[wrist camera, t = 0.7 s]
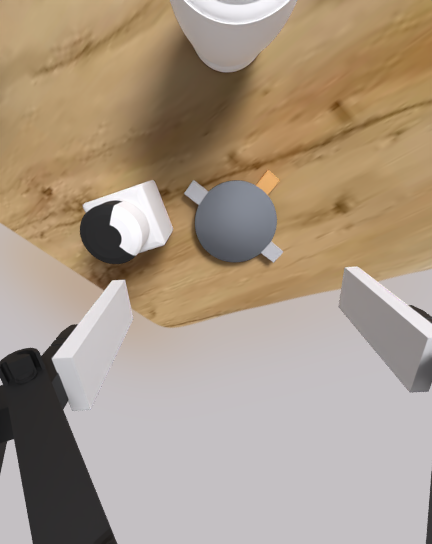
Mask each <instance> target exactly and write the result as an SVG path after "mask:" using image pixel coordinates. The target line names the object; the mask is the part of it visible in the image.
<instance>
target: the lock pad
mask: <svg viewBox="0 0 432 544" xmlns="http://www.w3.org/2000/svg"><path fill="white" fill-rule="evenodd" d="M279 181H280V180H279V179H278V178H277V177H276V176H275V175H273V174H272V173H271V172H270V171H269V170H267V171H266V172H265V174H264V175H263V176H262V177H261V179H260V180H259V181H258V182H257V184H256V185H254V184H252V183H249V182H245V181H238V180H235V181H227V182H224V183H221V184H219V185H217V186H215V187H214V188H212V189H211V190H210V191H209V192H208V191H207V190H206V189H205V188H203V187H202V186H201V185H200V184H198V183H197V182H196V181H195V180H193V181H192V183H191V184H190V186H189V187H188V189H187V190H186V191H185V193H184V194H185V195H186V196H188V197H189V198H190V199H192V200H193V201H194V202H196V203H197V204H198V205H199V206H198V209H197V212H196V217H195V230H196V234H197V237H198V239H199V241H200V243H201V245H202V246H203V247H204V249H205V250H206V251H207V252H208V253H210V254H211V255H212V256H214V257H216V258H218V259H220V260H223V261H227V262H242V261H246V260H249V259H252V258H254V257H256V256H257V255H259V254H260V253H262V254H263V255H264V256H266V257H267V258H268V259H270V260H271V261H272V262H273V263H274V262H275V260H276V259H277V258H278V257H279V256H280V255H281V254H282V253H283V251H282V250H281V249H280V248H279V247H278V246H276V245H275V244H274V243H273V242H271V240H272V238H273V236H274V234H275V230H276V225H277V217H276V211H275V207H274V205H273V203H272V201H271V199H270V198H269V196H268V194H269V193H270V192H271V190H272V189H273V188H274V187H275V186H276V184H277V183H278V182H279Z"/></svg>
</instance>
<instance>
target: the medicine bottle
mask: <svg viewBox="0 0 432 544" xmlns="http://www.w3.org/2000/svg"><path fill="white" fill-rule="evenodd" d="M83 208H84V210H85V212H86V214H85V215H84V217H83V218H82V221H81V225H80V235H81V239H82V242H83V244H84V246H85V247H86V249H87V250H88V251H89V252H90V253H91V254H92V255H93V256H94V257H96V258H97V259H99V260H101V261H103V262H106V263H110V264H122V263H125V262H128V261H130V260H131V259H133V258H134V257H135V256H136V255H137V254H138V253H141V252H144V251H147V250H150V249H154V248H157V247H160V246H163V245H165V243H166V242H167V240H168V238H169V236H170V235H171V233H172V231H173V227H172V224H171V222H170V219H169V216H168V214H167V211H166V209H165V206H164V204H163V201H162V198H161V196H160V193H159V191H158V188H157V186H156V183H155V181H154V180H150V181H147V182H145V183H142V184H139V185H136V186H133V187H130V188H127V189H124V190H121V191H119V192H116V193H113V194H110V195H107V196H104V197H101V198H98V199H95V200H93V201H90V202H87V203H84V204H83Z"/></svg>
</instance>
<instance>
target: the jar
mask: <svg viewBox="0 0 432 544" xmlns="http://www.w3.org/2000/svg"><path fill="white" fill-rule="evenodd" d="M170 2H171V5H172V8H173V11H174V14H175V16H176V19H177V21H178V23H179V25H180V27H181V29H182V30H183V32H184V34H185V35H186V37H187V38H188V40H189V41H190V42H191V44H192V45H193V47H194V49H195V51H196V53H197V54H198V56H199V57H200V59H201V60H202V61H203V62H204V63H205V64H206V65H208V66H209V67H210V68H212V69H214V70H217V71H220V72H235V71H238V70H241V69H243V68H244V67H246V66H247V65H249V64H250V63H251V62H252V61H253V60H254V59H255V58H256V57H257V55H258V54H259V53H260V52H261V51H262V50H264V49H265V48H266V47H267V46H268V45H269V44H270V43H271V42H272V41H273V40H274V39H275V37H276V36H277V35H278V34H279V32H280V31H281V29H282V28H283V27H284V25H285V23H286V22H287V20H288V18H289V17H290V15H291V13H292V11H293V9H294V7H295V4H296V2H297V0H170Z"/></svg>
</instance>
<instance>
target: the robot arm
mask: <svg viewBox="0 0 432 544" xmlns="http://www.w3.org/2000/svg"><path fill="white" fill-rule="evenodd" d="M339 308H340V309H341V311H342V312H343V313H344V314H345V315H346V317H347V318H348V319H349V320H350V321H351V323H352V324H353V325H354V326H355V327H356V329H357V330H358V331H359V332H360V333H361V335H362V336H363V337H364V338H365V339H366V340H367V342H368V343H369V344H370V345H371V347H372V348H373V349H374V350H375V351H376V353H377V354H378V355H379V356H380V357H381V359H382V360H383V361H384V362H385V363H386V365H387V366H388V367H389V368H390V369H391V370H392V372H393V373H394V374H395V375H396V377H397V378H398V379H399V380H400V381H401V382H402V384H403V385H404V386H405V387H406V388H407V390H408V391H409V392H427V391H429V389H430V386H431V383H432V317H431V316H430V315H429V314H427V313H426V312H424V311H423V310H421V309H419V308H416V307H414V306H412V305H407V304H406V303H404V302H403V301H402V300H400V299H399V298H398V297H397V296H395V295H394V294H393V293H391V292H390V291H389V290H387V289H386V288H385V287H384V286H382V285H381V284H380V283H378V282H377V281H376V280H374V279H373V278H372V277H371V276H369V275H368V274H367V273H365V272H364V271H363V270H361V269H360V268H359V267H345V269H344V275H343V282H342V288H341V294H340V301H339ZM132 320H133V316H132V310H131V305H130V301H129V296H128V291H127V287H126V282H125V280H112V281H111V283H110V284H109V285H108V287H107V288H106V289H105V290H104V292H103V293H102V294H101V296H100V297H99V298H98V300H97V301H96V302H95V303H94V305H93V306H92V307H91V309H90V310H89V311H88V312H87V314H86V315H85V316H84V318H83V319H82V320H81V321H80V323H79V324H77V325H71V326H69V327H68V328H66V329H65V330H64V331H62V332H61V333H60V335H59V336H58V337H57V338H56V340H55V341H54V342H53V343H52V344H51V346H50V347H49V348H48V349H47V350H46V351H45V353H44V354H43V355H42V356H41V355H40V353H39V351H38V350H37V349H34V348H26V349H22V350H18V351H15V352H13V353H11V354H9V355H7V356H6V357H5V358H3V359H2V360H1V361H0V378H1V381H2V383H3V385H1V386H0V472H1V467H2V463H3V458H4V453H5V449H6V444H7V441H9V440H12V439H14V441H15V447H16V452H17V457H18V463H19V469H20V474H21V479H22V486H23V491H24V496H25V502H26V507H27V513H28V519H29V524H30V530H31V535H32V540H33V544H117V542H116V540H115V537H114V534H113V532H112V530H111V527H110V525H109V522H108V520H107V518H106V515H105V512H104V510H103V507H102V505H101V502H100V500H99V498H98V495H97V492H96V490H95V488H94V485H93V483H92V480H91V478H90V475H89V473H88V470H87V468H86V465H85V463H84V460H83V458H82V455H81V453H80V450H79V448H78V446H77V443H76V441H75V438H74V436H73V433H72V431H71V428H70V426H69V423H68V421H67V419H66V416H65V414H64V411H63V409H64V407H65V405H66V404H67V402H69V404H70V407H71V409H72V411H77V410H91V408H92V406H93V404H94V401H95V399H96V397H97V395H98V393H99V391H100V389H101V387H102V384H103V382H104V380H105V378H106V376H107V374H108V371H109V369H110V367H111V365H112V363H113V361H114V358H115V357H116V354H117V352H118V350H119V348H120V346H121V344H122V342H123V339H124V337H125V335H126V333H127V331H128V329H129V327H130V324H131V322H132ZM426 544H432V473H431V486H430V499H429V512H428V524H427V538H426Z"/></svg>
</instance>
